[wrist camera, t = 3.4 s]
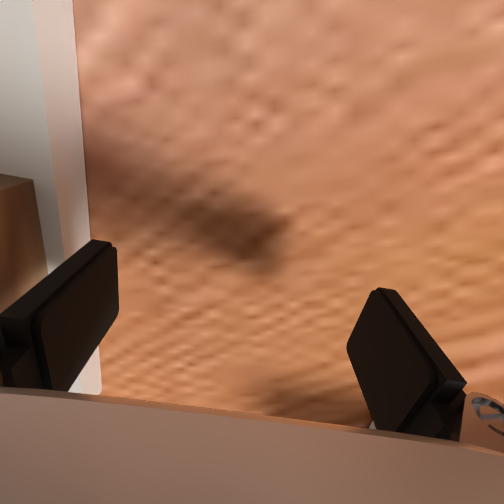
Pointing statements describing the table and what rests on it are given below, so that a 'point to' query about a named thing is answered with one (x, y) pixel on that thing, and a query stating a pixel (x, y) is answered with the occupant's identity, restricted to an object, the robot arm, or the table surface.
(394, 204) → the table surface
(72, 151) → the board
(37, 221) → the walnut block
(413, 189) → the table surface
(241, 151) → the table surface
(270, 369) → the table surface
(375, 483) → the robot arm
